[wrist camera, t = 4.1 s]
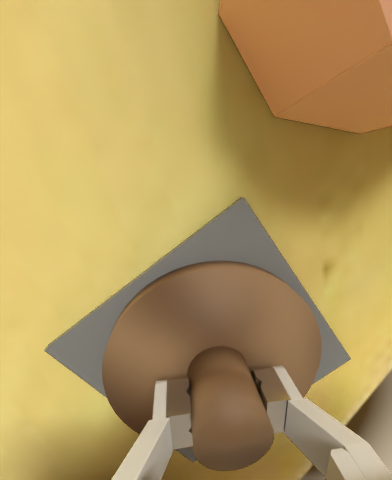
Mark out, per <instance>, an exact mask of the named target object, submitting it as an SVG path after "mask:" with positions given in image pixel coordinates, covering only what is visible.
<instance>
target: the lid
mask: <svg viewBox="0 0 392 480" xmlns="http://www.w3.org/2000/svg"><path fill="white" fill-rule="evenodd" d="M321 351H322V345H321V335H320V329H319V326H318V323H317V321H316V318H315V316H314V314H313V312H312V311H311V309H310V307H309V306H308V305H307V303H306V302H305V301H304V300H303V299H302V297H301V296H299V295H298V294H297V293H296V292H295V291H294V290H293V289H292V288H291V287H289V286H288V285H287V284H286V283H285V282H284V281H283V280H281V279H280V278H278V277H277V276H275V275H274V274H272V273H271V272H269V271H266V270H264V269H262V268H260V267H257V266H253V265H250V264H247V263H241V262H235V261H208V262H200V263H195V264H191V265H187V266H184V267H181V268H178V269H175V270H173V271H170V272H168V273H166V274H164V275H162V276H160V277H158V278H157V279H155V280H154V281H152V282H151V283H149V284H148V285H146V286H145V287H144V288H143V289H142V290H141V291H139V292H138V293H137V294H136V295H135V296H134V297H133V298H132V299H131V301H130V302H129V303H128V304H127V305H126V306H125V308H124V309H123V311H122V312H121V314H120V315H119V317H118V319H117V321H116V323H115V326H114V328H113V330H112V332H111V335H110V338H109V340H108V343H107V345H106V349H105V352H104V356H103V364H102V380H103V386H104V390H105V394H106V396H107V398H108V401H109V403H110V405H111V406H112V408H113V410H114V411H115V413H116V414H117V415H118V416H119V417H120V419H121V420H122V421H123V422H124V423H125V424H126V425H128V426H129V427H130V428H131V429H132V430H134V431H135V432H137V433H139V434H140V433H141V432H142V430H143V429H144V427H145V425H146V424H147V422H148V421H149V420H152V416H153V404H154V392H155V383H156V381H161V380H170V379H180V378H189V390H190V402H191V415H192V440H193V446H190V447H185V448H188V449H193V452H194V455H195V457H196V459H197V460H198V462H199V463H201V464H202V465H203V466H205V467H207V468H209V469H213V470H218V471H231V470H237V469H241V468H244V467H246V466H249V465H251V464H253V463H255V462H256V461H258V460H259V459H260V458H262V457H263V456H264V455H265V454H266V453H267V451H268V450H269V449H270V447H271V445H272V443H273V439H274V430H273V427H272V424H271V422H270V419H269V417H268V414H267V412H266V410H265V407H264V405H263V402H262V400H261V397H260V395H259V392H258V390H257V387H256V385H255V383H254V380H253V378H252V375H251V370H252V369H258V368H265V367H274V366H283V367H284V368H285V369H286V371H287V373H288V374H289V376H290V377H291V379H292V381H293V382H294V384H295V386H296V387H297V389H298V391H299V392H300V394H301V395H302V397H303V398H304V396H305V395H306V393H307V392H308V390H309V388H310V387H311V385H312V383H313V381H314V379H315V376H316V374H317V371H318V368H319V364H320V359H321Z"/></svg>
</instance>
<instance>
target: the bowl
mask: <svg viewBox="0 0 392 480" xmlns="http://www.w3.org/2000/svg"><path fill="white" fill-rule="evenodd" d="M218 15H220V17H221V19H222V21H223V23H224V25H225V27H226V28H227V30H228V32H229V34H230V36H231V38H232V39H233V41H234V43H235V45H236V47H237V49H238V51H239V52H240V54H241V56H242V58H243V60H244V62H245V63H246V65H247V67H248V69H249V71H250V73H251V75H252V76H253V78H254V80H255V82H256V84H257V86H258V87H259V89H260V91H261V93H262V95H263V97H264V99H265V100H266V102H267V104H268V106H269V108H270V110H271V111H272V113H273V115H274V117H279V118H284V119H289V120H294V121H299V122H304V123H309V124H314V125H319V126H324V127H329V128H334V129H339V130H344V131H349V132H354V133H359V134H362V133H366V132H370V131H374V130H378V129H382V128H386V127H390V126H392V0H220V6H219V11H218Z"/></svg>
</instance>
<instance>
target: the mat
mask: <svg viewBox="0 0 392 480" xmlns="http://www.w3.org/2000/svg"><path fill="white" fill-rule="evenodd" d="M208 261H235V262H241V263H247V264H250V265H253V266H257V267H260V268H262V269H264V270H266V271H269V272H271V273H272V274H274V275H275V276H277V277H278V278H280V279H281V280H283V281H284V282H285V283H286V284H287V285H288V286H289V287H291V288H292V289H293V290H294V291H295V292H296V293H297V294H298V295H299V296H301V297H302V299H303V300H304V301H305V302H306V303H307V305H308V306H309V307H310V309H311V311H312V312H313V314H314V316H315V318H316V321H317V323H318V326H319V329H320V335H321V345H322V351H321V359H320V364H319V368H318V371H317V374H316V376H315V379H314V381H313V383H312V384H314V383H315V382H317V381H318V380H320V379H321V378H323V377H324V376H326V375H327V374H329V373H331V372H332V371H334V370H335V369H337V368H338V367H340V366H341V365H343V364H344V363H346V362H347V361H349V360H350V359H351V358H350V357H349V355H348V354H347V352H346V351H345V349H344V348H343V346H342V345H341V343H340V342H339V340H338V339H337V337H336V336H335V334H334V333H333V331H332V330H331V328H330V327H329V325H328V324H327V322H326V321H325V319H324V318H323V316H322V315H321V313H320V312H319V310H318V309H317V307H316V306H315V304H314V303H313V301H312V300H311V298H310V297H309V295H308V294H307V292H306V291H305V289H304V287H303V286H302V284H301V283H300V281H299V280H298V278H297V277H296V275H295V274H294V272H293V271H292V269H291V268H290V266H289V265H288V263H287V262H286V260H285V259H284V257H283V256H282V254H281V253H280V251H279V250H278V248H277V247H276V245H275V244H274V242H273V241H272V239H271V238H270V236H269V235H268V233H267V232H266V230H265V229H264V227H263V226H262V224H261V223H260V221H259V220H258V218H257V217H256V215H255V214H254V212H253V211H252V209H251V208H250V206H249V205H248V203H247V202H246V200H245V199H244V198H242V197H241V198H240V199H239V200H237V201H236V202H235V203H233V204H232V205H231V206H229V207H228V208H227V209H226V210H224V211H223V212H222V213H220V214H219V215H218V216H216V217H215V218H214V219H212V220H211V221H210V222H209V223H207V224H206V225H205V226H203V227H202V228H201V229H199V230H198V231H197V232H195V233H194V234H193V235H192V236H190V237H189V238H188V239H186V240H185V241H184V242H182V243H181V244H180V245H178V246H177V247H176V248H175V249H173V250H172V251H171V252H169V253H168V254H167V255H165V256H164V257H163V258H161V259H160V260H159V261H158V262H156V263H155V264H154V265H152V266H151V267H150V268H148V269H147V270H146V271H144V272H143V273H142V274H140V275H139V276H138V277H137V278H135V279H134V280H133V281H131V282H130V283H129V284H127V285H126V286H125V287H123V288H122V289H121V290H120V291H118V292H117V293H116V294H114V295H113V296H112V297H110V298H109V299H108V300H106V301H105V302H104V303H103V304H101V305H100V306H99V307H97V308H96V309H95V310H93V311H92V312H91V313H89V314H88V315H87V316H86V317H84V318H83V319H82V320H80V321H79V322H78V323H76V324H75V325H74V326H72V327H71V328H70V329H69V330H67V331H66V332H65V333H63V334H62V335H61V336H59V337H58V338H57V339H55V340H54V341H53V342H52V343H50V344H49V345H48V346H47V348H46V349H45V350H44V351H45V352H47V353H48V354H49V355H51V356H52V357H53V358H55V359H56V360H57V361H59V362H60V363H61V364H63V365H64V366H65V367H67V368H68V369H69V370H71V371H72V372H73V373H75V374H76V375H77V376H79V377H80V378H81V379H83V380H84V381H85V382H87V383H88V384H89V385H91V386H92V387H93V388H95V389H96V390H97V391H99V392H100V393H101V394H103V395H104V396H105V397H107V396H106V394H105V390H104V386H103V380H102V364H103V356H104V352H105V349H106V345H107V343H108V340H109V338H110V335H111V332H112V330H113V328H114V326H115V323H116V321H117V319H118V317H119V315H120V314H121V312H122V311H123V309H124V308H125V306H126V305H127V304H128V303H129V302H130V301H131V299H132V298H133V297H134V296H135V295H136V294H137V293H138V292H139V291H141V290H142V289H143V288H144V287H145V286H146V285H148V284H149V283H151V282H152V281H154V280H155V279H157V278H158V277H160V276H162V275H164V274H166V273H168V272H170V271H173V270H175V269H178V268H181V267H184V266H187V265H191V264H195V263H200V262H208ZM176 450H177V451H178V452H180V453H181V454H182V455H183V456H185V457H186V458H187V459H189V460H190V461H191V462H194V461H196V460H197V459H196V457H195V455H194V452H193V449H188V448H180V449H176Z"/></svg>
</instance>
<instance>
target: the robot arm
mask: <svg viewBox="0 0 392 480" xmlns="http://www.w3.org/2000/svg"><path fill="white" fill-rule="evenodd" d="M251 375H252V378H253V380H254V383H255V385H256V387H257V390H258V392H259V395H260V397H261V400H262V402H263V405H264V407H265V410H266V412H267V414H268V417H269V419H270V422H271V424H272V427H273V430H274V433H283V432H284V434H285V435H286V436H287V437H288V438H289V439H290V440H291V441H292V442H293V443H294V444H295V445H296V446H297V448H298V449H299V450H300V451H301V452H302V453H303V454H304V455H305V456H306V457H307V458H308V459H309V460H310V461H311V462H312V464H313V465H314V466H315V467H316V468H317V469H318V470H319V471H320V472H321V473H322V474H323V475H324V476H325V477H326V478H325V480H392V474H391V473H390V471H388V469H387V467H386V466H385V465H384V463H383V462H382V461H381V459H380V458H379V457H378V455H377V454H376V453H375V451H374V450H373V449H372V447H371V446H370V445H369V443H368V442H366V441H365V440H364V439H362V438H361V437H360V436H358V435H357V434H355V433H354V432H353V431H351V430H350V429H348V428H347V427H346V426H344V425H343V424H342V423H340V422H339V421H337V420H336V419H335V418H333V417H332V416H331V415H329V414H328V413H326V412H325V411H324V410H322V409H321V408H320V407H318V406H317V405H315V404H314V403H313V402H311V401H310V400H309V399H307V398H303V397H302V395H301V394H300V392H299V391H298V389H297V387H296V386H295V384H294V382H293V381H292V379H291V377H290V376H289V374H288V373H287V371H286V369H285V368H284V367H283V366H274V367H265V368H258V369H252V370H251ZM190 446H193V440H192V415H191V402H190V390H189V378H180V379H170V380H161V381H156V383H155V392H154V404H153V416H152V420H149V421H148V422H147V424H146V425H145V427H144V429H143V430H142V432H141V433H140V435H139V437H138V438H137V440H136V441H135V443H134V444H133V446H132V448H131V449H130V451H129V452H128V454H127V456H126V457H125V459H124V460H123V462H122V464H121V465H120V467H119V468H118V470H117V471H116V473H115V475H114V476H113V478H112V479H111V480H161V479H162V477H163V474H164V472H165V470H166V467H167V465H168V462H169V460H170V457H171V455H172V453H173V450H174V449H180V448H185V447H190Z"/></svg>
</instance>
